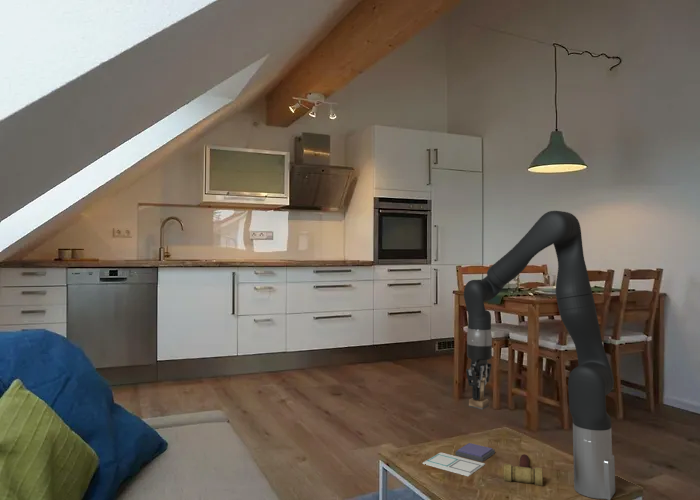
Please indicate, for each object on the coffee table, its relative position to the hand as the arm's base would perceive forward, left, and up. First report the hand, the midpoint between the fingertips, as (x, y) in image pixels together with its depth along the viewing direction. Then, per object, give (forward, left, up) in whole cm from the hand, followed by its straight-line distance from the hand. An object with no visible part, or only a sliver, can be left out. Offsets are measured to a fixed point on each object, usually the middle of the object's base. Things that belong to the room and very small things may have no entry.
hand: (478, 397), depth 158 cm
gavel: (-15, +2, -19) cm, 24 cm away
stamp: (0, 0, -3) cm, 3 cm away
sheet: (+3, +11, -18) cm, 21 cm away
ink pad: (+2, -1, -18) cm, 18 cm away
